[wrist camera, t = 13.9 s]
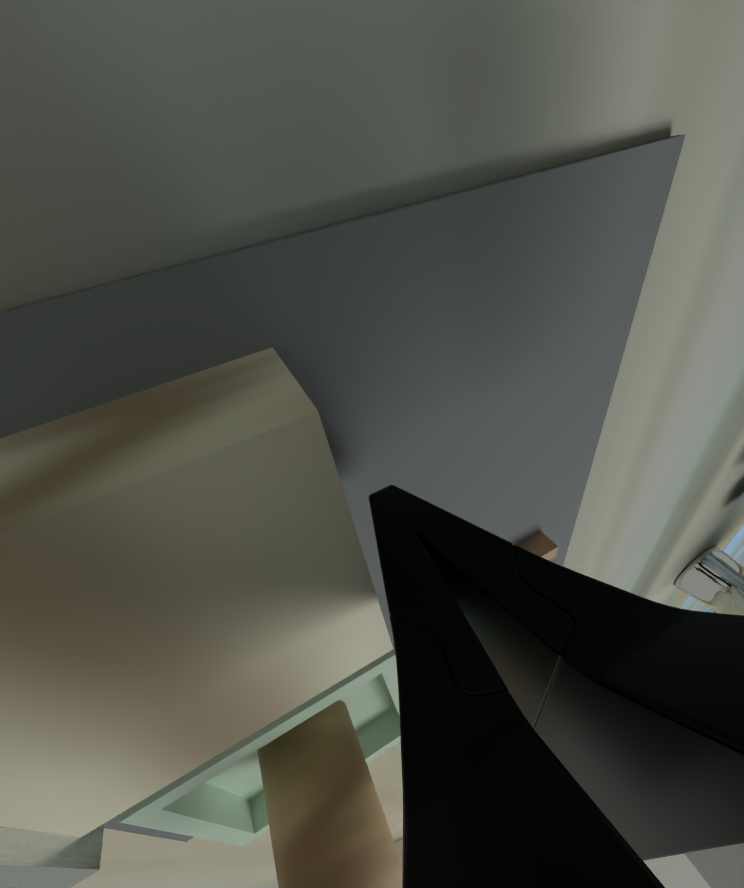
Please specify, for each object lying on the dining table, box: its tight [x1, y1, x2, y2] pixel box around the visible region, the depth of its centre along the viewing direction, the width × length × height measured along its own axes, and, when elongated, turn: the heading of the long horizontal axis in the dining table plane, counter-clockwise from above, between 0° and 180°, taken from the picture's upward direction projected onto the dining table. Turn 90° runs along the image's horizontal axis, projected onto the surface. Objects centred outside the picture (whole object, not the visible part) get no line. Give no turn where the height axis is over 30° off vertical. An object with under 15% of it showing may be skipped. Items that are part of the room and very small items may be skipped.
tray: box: [119, 639, 401, 846], centre depth 15 cm, size 10×10×2 cm
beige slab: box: [0, 347, 393, 837], centre depth 8 cm, size 8×8×3 cm
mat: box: [0, 134, 685, 842], centre depth 13 cm, size 24×24×1 cm
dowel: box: [257, 700, 403, 888], centre depth 13 cm, size 4×4×6 cm
